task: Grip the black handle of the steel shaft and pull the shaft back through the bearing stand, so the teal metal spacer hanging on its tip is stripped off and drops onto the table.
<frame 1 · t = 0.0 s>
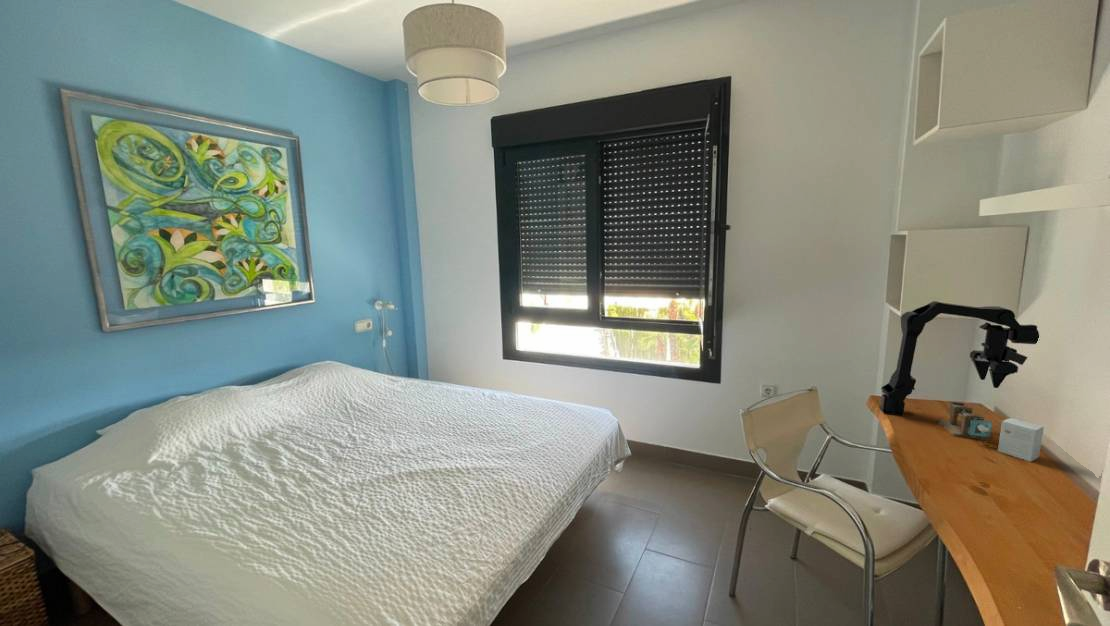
hand: (989, 383, 163), 15 cm above the table, tool pointing down, fingers open, 9 cm apart
bearing stand: (962, 430, 159), on the table
steel shaft: (969, 418, 155), point 6 cm above the table, slide at 0.0 cm, touching teal spacer
teal spacer: (978, 435, 148), point 3 cm above the table, touching steel shaft
small box: (1017, 455, 142), on the table
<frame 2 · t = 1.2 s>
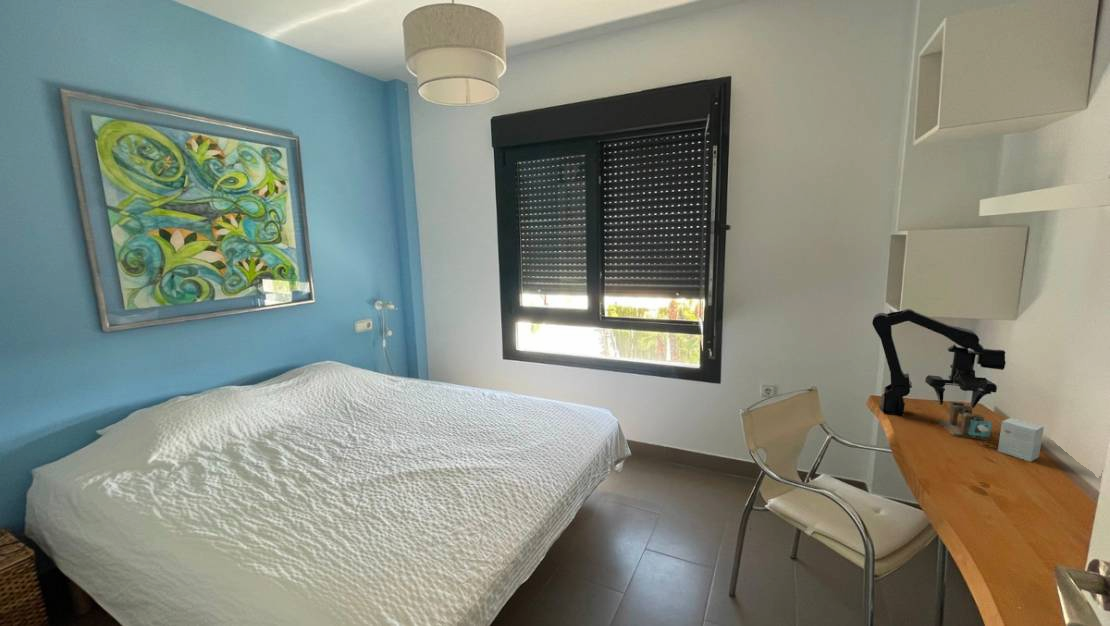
hand: (956, 405, 163), 7 cm above the table, tool pointing down, fingers open, 9 cm apart
nothing on the table moved.
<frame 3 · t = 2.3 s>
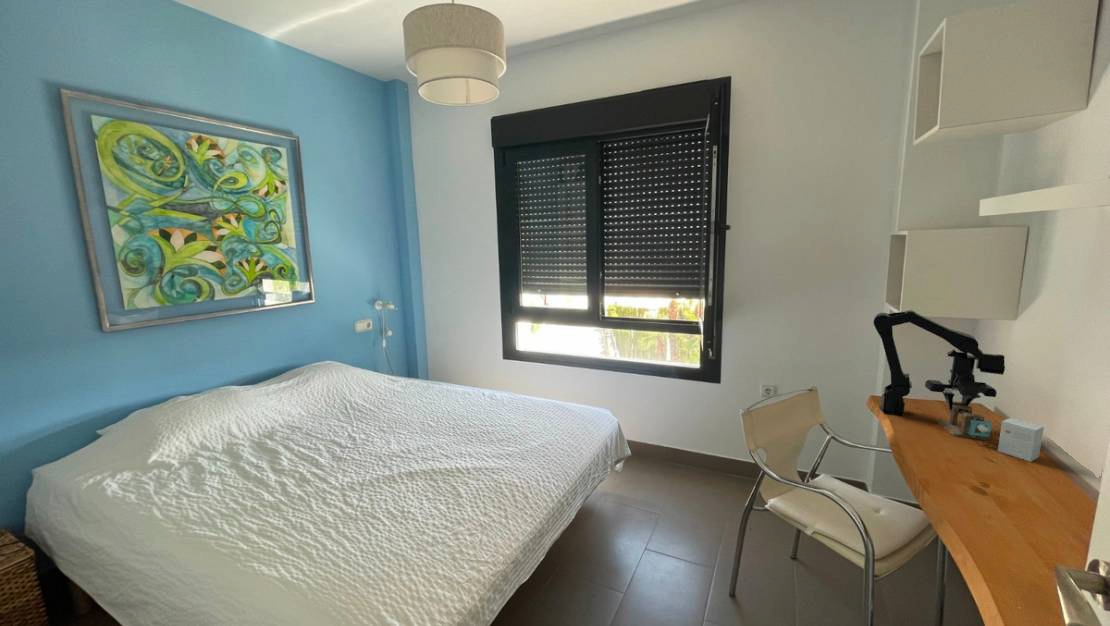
hand: (956, 410, 164), 5 cm above the table, tool pointing down, fingers closed on steel shaft, 3 cm apart
steel shaft: (969, 418, 155), point 6 cm above the table, slide at 0.0 cm, touching gripper, teal spacer
everything else where it was.
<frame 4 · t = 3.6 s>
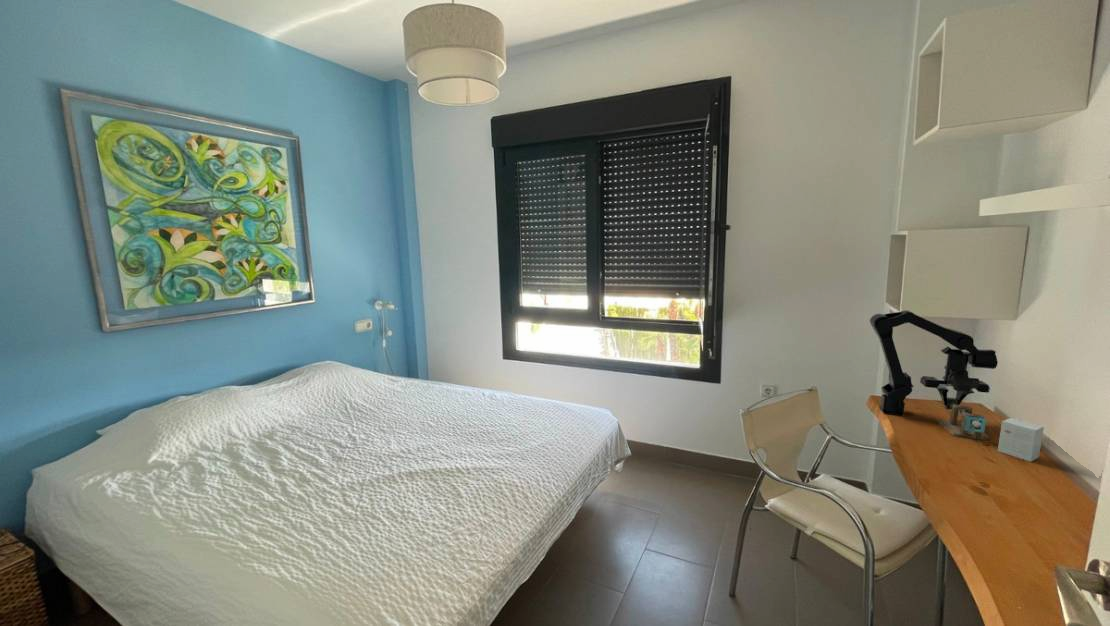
hand: (950, 405, 168), 5 cm above the table, tool pointing down, fingers closed on steel shaft, 3 cm apart
steel shaft: (963, 413, 159), point 6 cm above the table, slide at 4.4 cm, touching gripper, teal spacer
teal spacer: (973, 430, 152), point 3 cm above the table, touching bearing stand, steel shaft
everything else where it was.
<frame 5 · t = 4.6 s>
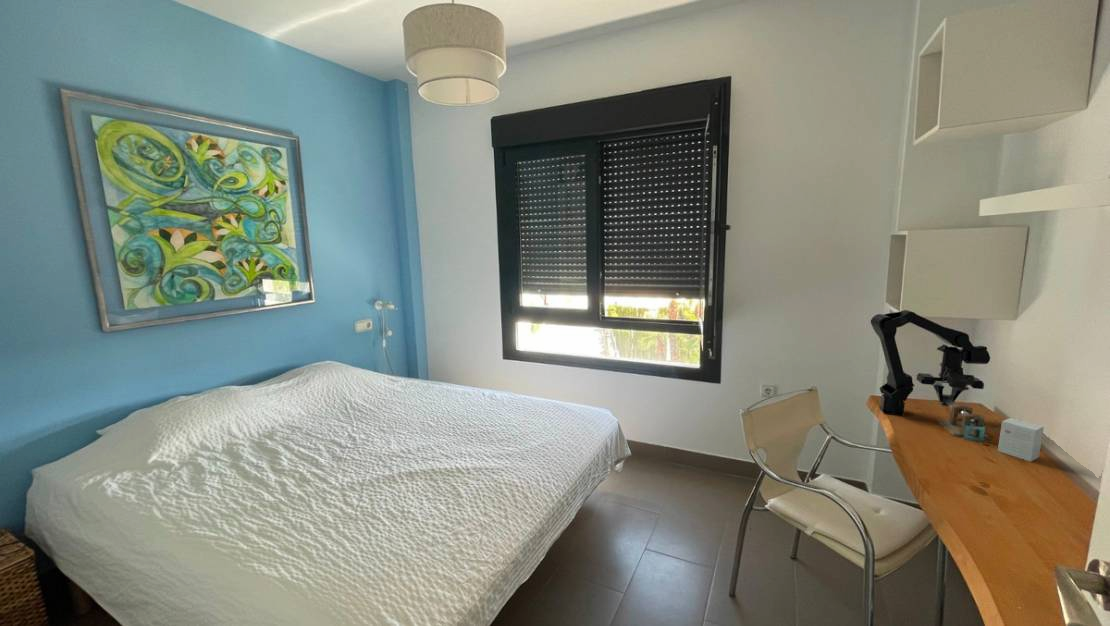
hand: (946, 402, 171), 5 cm above the table, tool pointing down, fingers closed on steel shaft, 3 cm apart
steel shaft: (958, 409, 162), point 6 cm above the table, slide at 7.8 cm, touching gripper
teal spacer: (972, 439, 152), on the table
everything else where it was.
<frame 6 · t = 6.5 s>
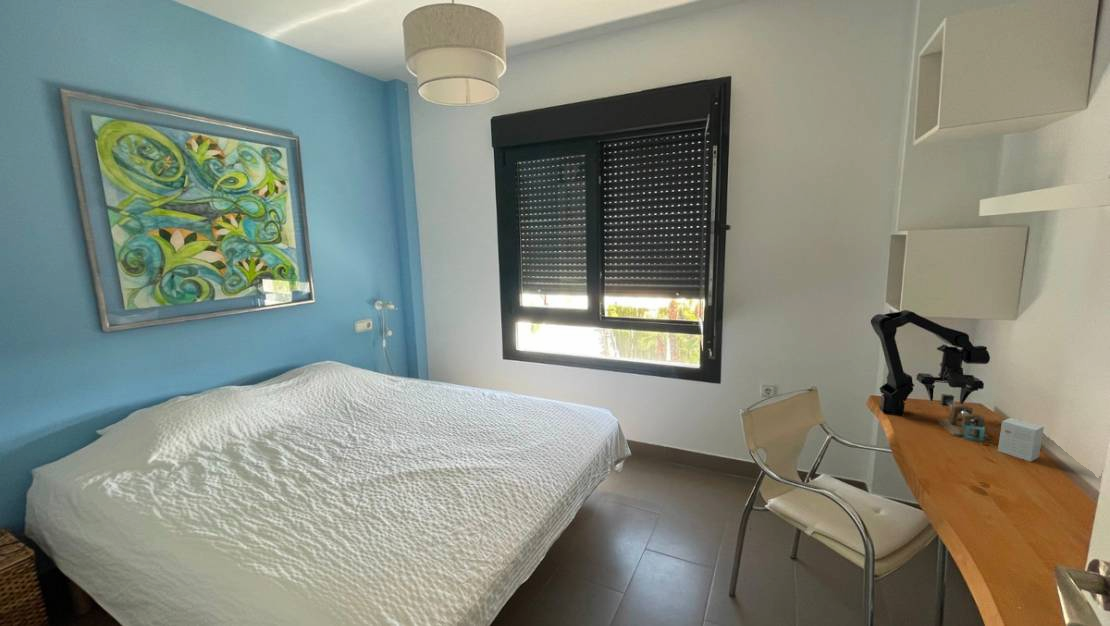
hand: (945, 402, 171), 5 cm above the table, tool pointing down, fingers open, 9 cm apart
steel shaft: (958, 409, 162), point 6 cm above the table, slide at 7.9 cm
everything else where it was.
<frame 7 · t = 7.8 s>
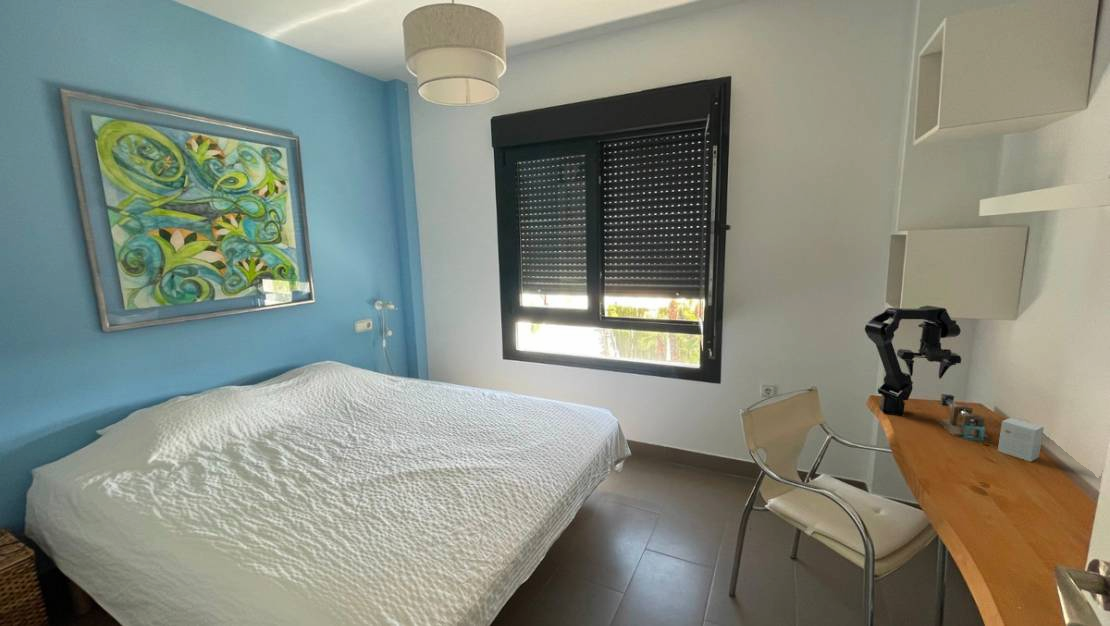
hand: (925, 377, 176), 13 cm above the table, tool pointing down, fingers open, 9 cm apart
nothing on the table moved.
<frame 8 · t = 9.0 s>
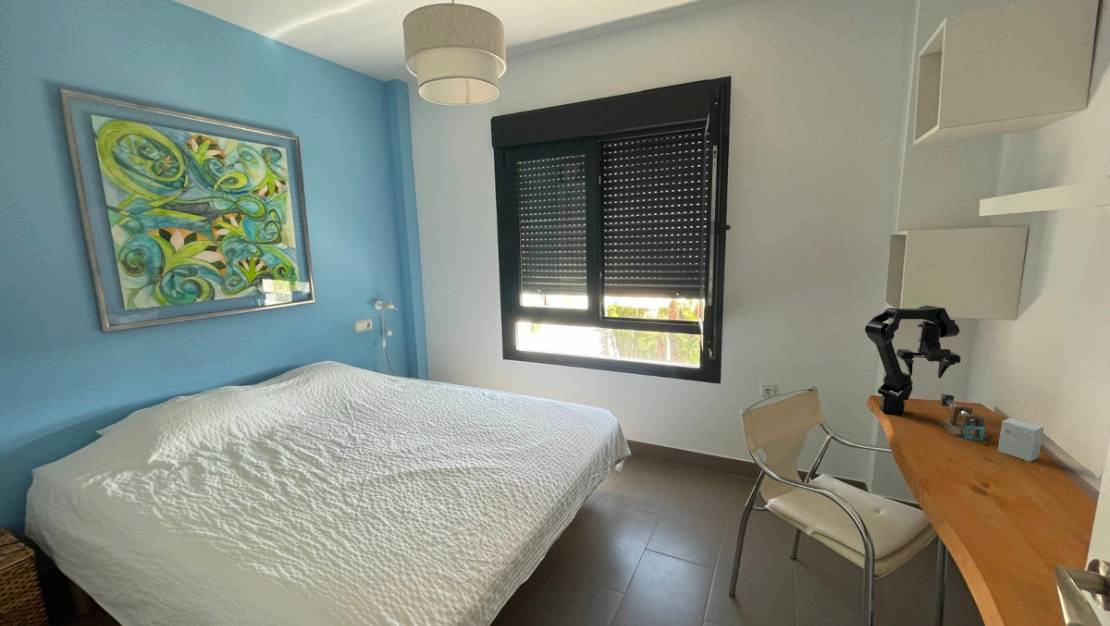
hand: (924, 376, 176), 13 cm above the table, tool pointing down, fingers open, 9 cm apart
nothing on the table moved.
at the end: steel shaft slide at 7.9 cm; teal spacer on the table; teal spacer touching table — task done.
